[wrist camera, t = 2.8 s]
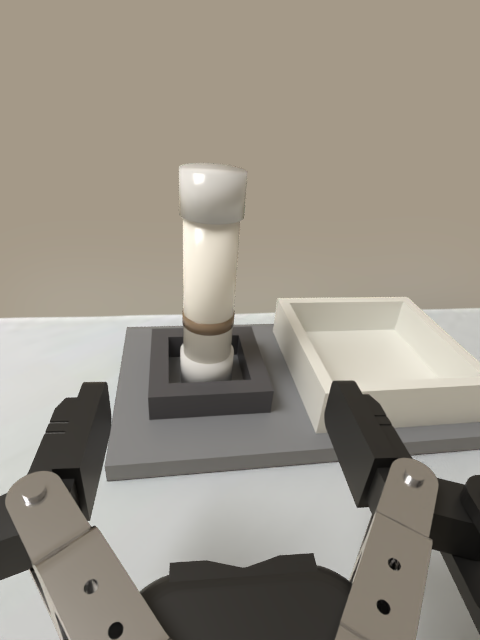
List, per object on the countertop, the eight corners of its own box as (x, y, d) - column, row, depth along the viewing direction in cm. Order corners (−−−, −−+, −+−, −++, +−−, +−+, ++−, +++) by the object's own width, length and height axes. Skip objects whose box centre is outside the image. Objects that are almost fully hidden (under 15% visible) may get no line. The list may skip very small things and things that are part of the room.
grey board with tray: (408, 331, 38) (422, 290, 36) (517, 445, 26) (549, 394, 24) (128, 339, 33) (123, 292, 31) (106, 480, 22) (98, 422, 19)
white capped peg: (238, 369, 29) (256, 168, 22) (220, 400, 26) (234, 179, 19) (193, 357, 30) (196, 160, 23) (171, 386, 27) (166, 170, 20)
